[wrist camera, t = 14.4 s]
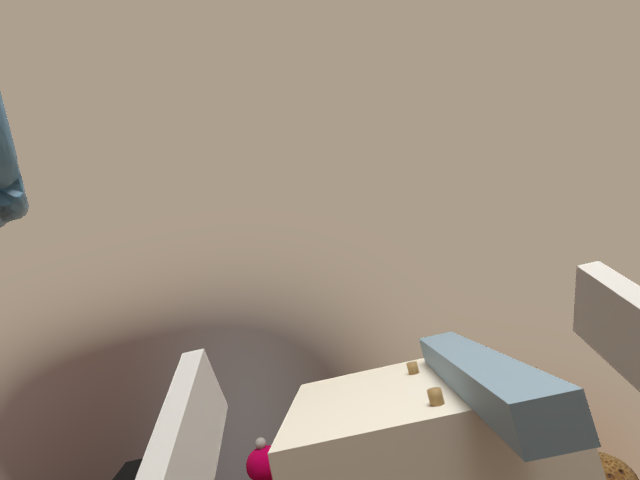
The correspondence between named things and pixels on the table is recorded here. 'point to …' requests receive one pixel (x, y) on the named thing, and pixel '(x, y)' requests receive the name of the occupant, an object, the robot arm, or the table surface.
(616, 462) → the natural sponge
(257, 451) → the pepper mill
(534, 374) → the batten
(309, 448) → the plinth
